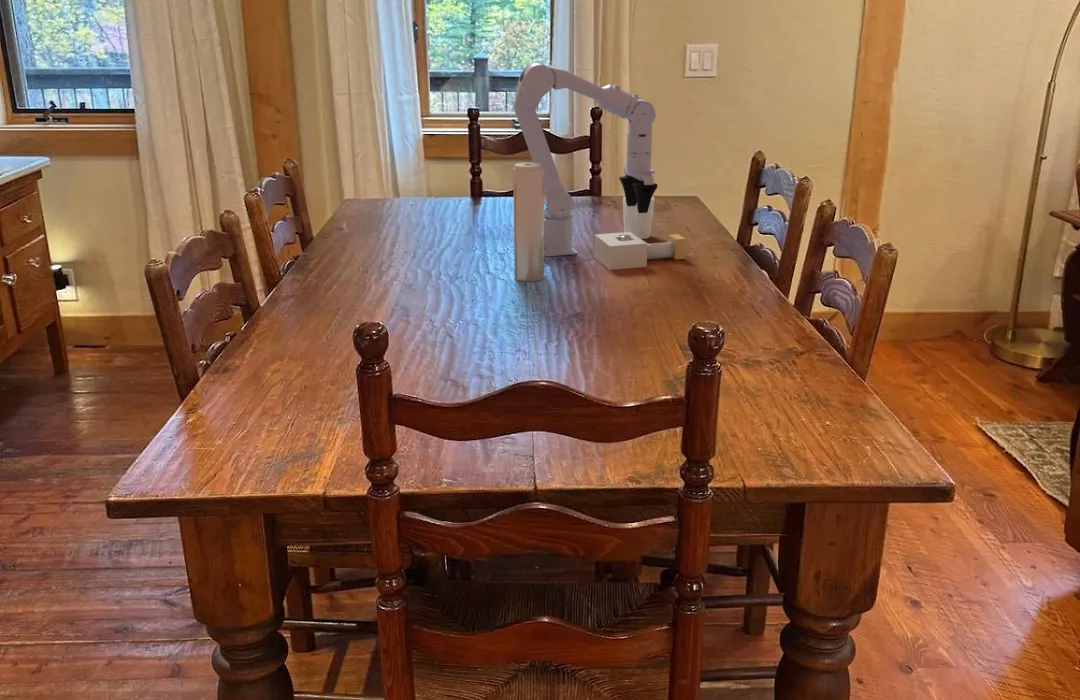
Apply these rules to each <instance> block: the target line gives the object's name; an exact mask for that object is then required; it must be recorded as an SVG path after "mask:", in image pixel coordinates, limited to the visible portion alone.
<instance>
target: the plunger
mask: <svg viewBox="0 0 1080 700" xmlns="http://www.w3.org/2000/svg"><path fill="white" fill-rule="evenodd" d="M628 240H631V236H630V235H619V241H628Z"/></svg>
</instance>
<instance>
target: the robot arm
mask: <svg viewBox="0 0 1080 700" xmlns="http://www.w3.org/2000/svg"><path fill="white" fill-rule="evenodd" d="M552 89H554V90H555V91H557V90H563V89H568V90H570V91H572V92H575V93H578V94H580V95H582V96H585V97H588V98H590V99H592V100H594V101H596V103H597V106H598V108H599V110H602V111H605V112H606V113H609V114H612V115H614V116H617V117H619V118H621V119H623V120H626V119H627V120H628V121H627V123H628V124H627V125H628V126H627V135H626V136H627V139H626V142H627V143H626V144H627V145H626V165H624V166H623V176H619V181H620V183H621V185H622V188H623V191H624V193H623V194H624V196H625V198H626V203H627V206H636V204H637V209H638V213H647V212H648V209H649V205H650V202H651V198H652V197H654V193H655V192H656V190H657V189H658V184H657V183H655V182H654V180H655V179H654V178H655V177H654V175H653V174H656V170H654V169H652V168H651V167H652V148H653V147H652V146H653V145H652V143H653V131H652V130H653V123H654V121H655V120H656V118H657V113H656V111H655V108H654V106H653V105H652V103H651V102H649V101H647V100H645V99H643V98H642V97H639V96H640V95H638V94H636V93H633V94H632V93H629V92H627V91H625V90H623V89H621V86H620V85H619V84H618V85H617V84H615V83H614V84H613V85H612V84H607V85H605V86H603V87H602V86H599V85H597V84H596V83H595V84H594V83H593V82H591V81H589V80H587V79H585V78H582V77H580V76H578V75H576V74H574V73H572V72H571V71H568V70H566V69H563V68H560V67H556V66H553V65H549V64H548V65H545V64H544V63H542V62H540V61H532V62H530V63H529V64H527V65H526V66H525V67H524V69H523V70H522V72H521V73H520V76H518V81H517V87H516V93H515V96H514V97H515V98H514V102H513V111H514V113H515V116H516V120H517V121H518V125H519V126H520V130H521V133H522V135H523V137H524V140H525V143H526V146H527V149H528V152H529V153H530V156H531V159H532V161H533V162H532V163H539V164H541V170H542V169H544V206H546V207H544V258H545V257H554V256H569V255H577V254H579V253H578V251H577V250H576V249H575V248H573V224H574V223H573V220H574V219H573V215H574V213H573V212H572V211H573V209H574V200H573V197H572V196H571V195H570V194H569V192H568V190H567V188H566V187H565V186H564V184H563V182H562V180H561V177H560V175H559V171H558V169H557V167H556V163H555V161H554V158H553V156H552V153H551V150H550V147H549V145H548V141H547V139H546V136H545V133H544V130H543V128H542V125H541V122H540V120H539V117H538V114H537V111H536V110H537V108H538V106H539V104H540V103H541V100H542V98H544V96H546V95H547V94H548V93H549V91H550V90H552Z"/></svg>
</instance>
